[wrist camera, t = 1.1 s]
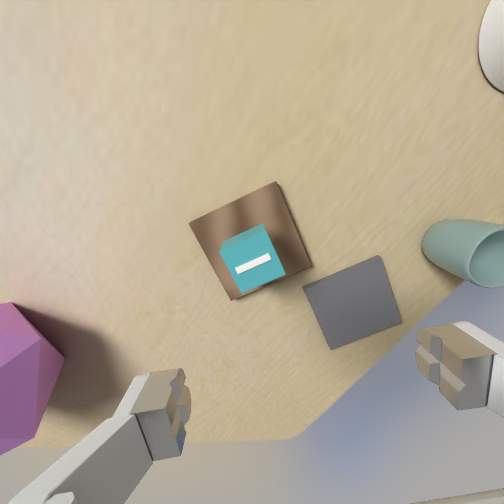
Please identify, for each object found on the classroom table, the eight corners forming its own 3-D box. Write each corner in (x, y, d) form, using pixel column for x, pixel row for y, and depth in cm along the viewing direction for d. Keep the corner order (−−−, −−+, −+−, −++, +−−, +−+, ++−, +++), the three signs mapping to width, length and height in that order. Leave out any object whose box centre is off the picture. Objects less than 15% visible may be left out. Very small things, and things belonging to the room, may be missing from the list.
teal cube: (263, 222, 33) (265, 231, 28) (280, 260, 34) (286, 275, 29) (223, 241, 33) (219, 252, 28) (242, 277, 35) (241, 294, 30)
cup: (472, 223, 38) (548, 238, 28) (446, 267, 40) (508, 296, 30) (428, 207, 37) (492, 218, 27) (404, 254, 39) (455, 278, 30)
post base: (274, 181, 35) (283, 182, 27) (309, 263, 39) (325, 285, 31) (190, 221, 37) (174, 234, 29) (231, 296, 41) (227, 326, 33)
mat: (377, 255, 39) (381, 257, 38) (398, 319, 43) (402, 322, 42) (302, 286, 40) (304, 289, 40) (328, 346, 44) (330, 349, 43)
